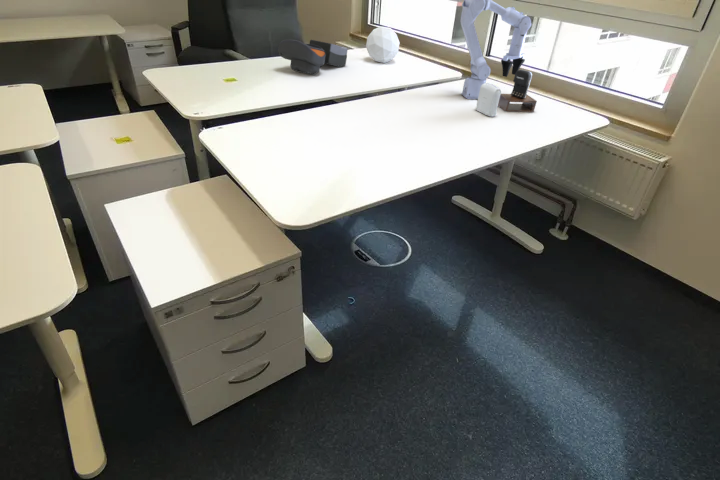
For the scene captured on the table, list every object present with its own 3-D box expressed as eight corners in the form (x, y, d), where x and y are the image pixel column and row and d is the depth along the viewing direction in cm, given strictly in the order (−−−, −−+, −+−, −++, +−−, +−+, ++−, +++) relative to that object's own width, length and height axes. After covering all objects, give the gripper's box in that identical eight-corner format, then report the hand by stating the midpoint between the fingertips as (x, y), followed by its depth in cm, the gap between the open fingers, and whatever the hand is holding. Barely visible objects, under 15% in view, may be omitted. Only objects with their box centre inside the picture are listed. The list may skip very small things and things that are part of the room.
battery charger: (508, 95, 195) (515, 69, 189) (513, 94, 197) (520, 68, 191) (521, 99, 191) (528, 73, 184) (526, 98, 193) (533, 72, 186)
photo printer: (473, 109, 191) (480, 81, 184) (481, 109, 192) (488, 80, 185) (489, 117, 183) (496, 87, 176) (496, 116, 185) (504, 87, 178)
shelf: (505, 111, 192) (508, 100, 189) (496, 104, 200) (499, 93, 197) (533, 112, 194) (536, 101, 191) (523, 105, 202) (526, 94, 199)
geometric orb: (387, 75, 259) (402, 51, 241) (357, 60, 254) (370, 35, 237) (394, 53, 267) (408, 29, 249) (364, 38, 262) (377, 12, 245)
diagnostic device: (312, 38, 205) (277, 31, 214) (307, 74, 211) (273, 66, 220) (354, 49, 237) (321, 42, 246) (348, 81, 243) (316, 73, 252)
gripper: (518, 41, 203) (510, 71, 211) (500, 44, 195) (493, 75, 203) (531, 44, 199) (523, 75, 207) (513, 47, 191) (506, 78, 199)
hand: (509, 75), depth 205 cm, fingers open, 7 cm apart
